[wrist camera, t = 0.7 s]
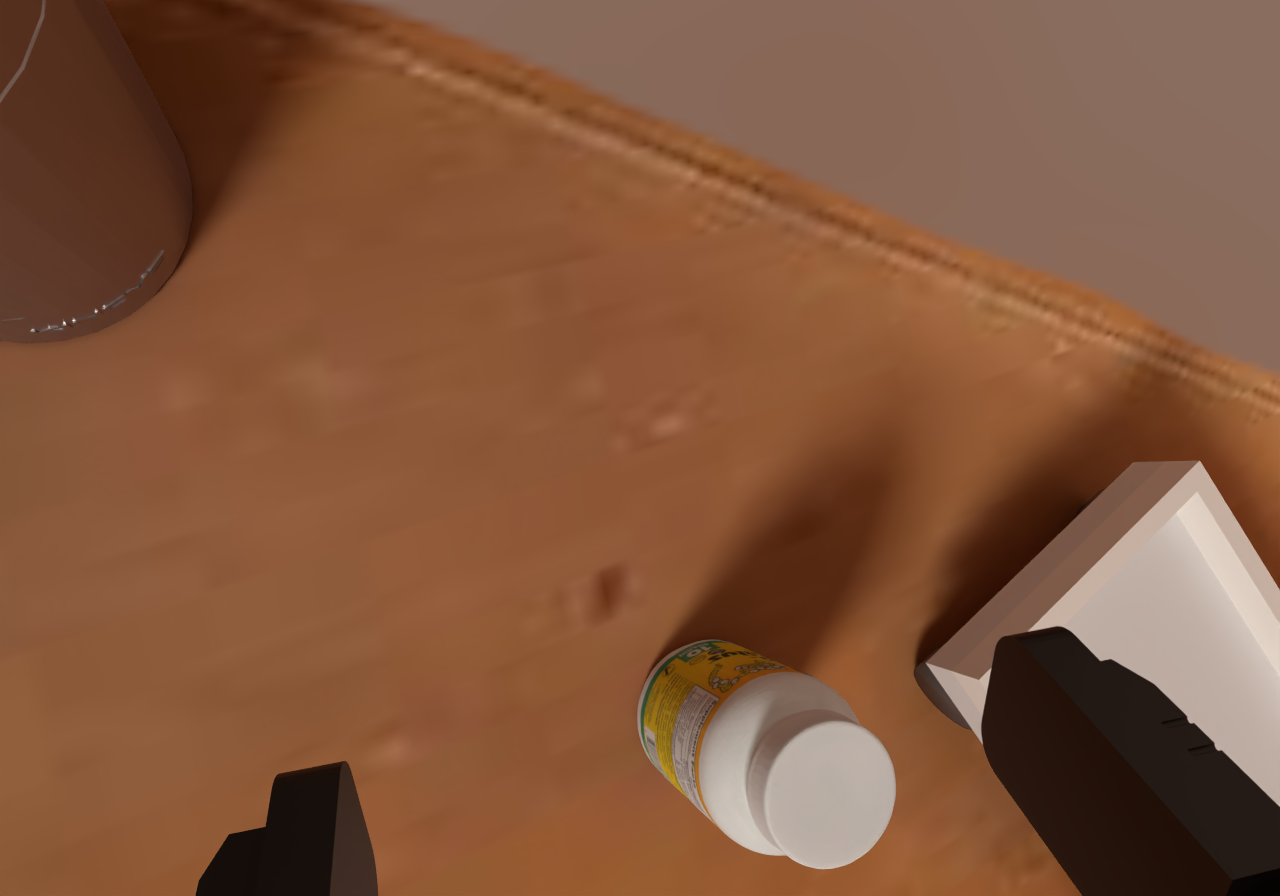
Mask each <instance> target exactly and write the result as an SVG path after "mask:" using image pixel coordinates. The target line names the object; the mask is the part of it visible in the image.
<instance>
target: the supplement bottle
mask: <svg viewBox="0 0 1280 896" xmlns="http://www.w3.org/2000/svg"><path fill="white" fill-rule="evenodd" d="M637 722H638V731H639V736H640V739H641V743H642V745H643V748H644V750H645V752H646V754H647V756H648V757H649V759H650V760H651V762H652V763H653V765H654V766H655V767H656V768H657V769H658V770H659V771H660V772H661V773H662V775H663V776H664V777H665V778H667V779H668V780H669V782H670V783H672V784H673V785H674V786H675V787H676V788H677V789H678V790H679V791H680V792H681V793H683V794H684V795H685V796H686V797H687V798H688V799H689V800H690V801H691V802H692V803H693V804H694V805H695V806H696V807H697V808H698V809H699V810H700V811H701V812H702V813H703V814H704V815H706V816H707V817H708V818H709V819H710V820H711V821H712V822H713V823H714V824H715V825H716V826H717V827H718V828H719V829H720V830H721V831H723V832H724V833H725V834H726V835H727V836H728V837H730V838H731V839H732V840H734V841H735V842H736V843H738V844H740V845H741V846H743V847H745V848H747V849H750V850H752V851H755V852H758V853H762V854H767V855H787V856H788V857H790V858H791V859H793V860H794V861H796V862H798V863H800V864H802V865H805V866H808V867H812V868H817V869H831V868H837V867H841V866H844V865H847V864H849V863H852V862H853V861H855V860H856V859H858V858H860V857H861V856H863V855H864V854H865V853H867V852H868V851H869V850H870V849H871V848H872V847H873V846H874V844H875V843H876V842H877V841H878V840H879V838H880V837H881V835H882V834H883V832H884V831H885V828H886V827H887V825H888V823H889V820H890V818H891V815H892V811H893V807H894V802H895V795H896V781H895V772H894V767H893V764H892V761H891V759H890V756H889V754H888V752H887V750H886V749H885V747H884V746H883V744H882V743H881V741H880V740H879V739H878V738H877V737H876V736H875V735H874V734H873V733H872V732H870V731H869V730H868V729H867V728H865V727H863V726H862V725H860V724H859V722H858V720H857V718H856V716H855V714H854V712H853V710H852V709H851V707H850V706H849V705H848V703H847V702H846V701H845V700H844V699H843V698H842V697H841V696H840V695H839V694H838V693H837V692H836V691H835V690H834V689H832V688H831V687H830V686H828V685H827V684H825V683H823V682H821V681H820V680H818V679H816V678H815V677H813V676H811V675H808V674H805V673H803V672H800V671H798V670H795V669H793V668H790V667H788V666H786V665H783V664H781V663H779V662H777V661H774V660H772V659H769V658H767V657H764V656H762V655H760V654H758V653H756V652H753V651H751V650H748V649H746V648H744V647H741V646H739V645H737V644H733V643H730V642H727V641H722V640H714V639H711V640H701V641H697V642H694V643H691V644H688V645H686V646H683V647H681V648H678V649H677V650H675V651H673V652H671V653H670V654H668V655H667V656H666V657H664V658H663V659H662V660H661V661H660V662H659V663H658V664H657V665H656V666H655V667H654V669H653V670H652V671H651V673H650V675H649V676H648V678H647V680H646V682H645V684H644V687H643V689H642V692H641V696H640V699H639V704H638V712H637Z"/></svg>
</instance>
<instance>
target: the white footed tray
mask: <svg viewBox="0 0 1280 896" xmlns="http://www.w3.org/2000/svg"><path fill="white" fill-rule="evenodd" d="M1055 626H1061V627H1064V628H1066V629H1068V630H1070V631H1071V632H1072V633H1073V634H1074V635H1076V636H1077V638H1078V639H1079V640H1080V641H1081V642H1082V643H1083V644H1084V645H1085V646H1086V647H1087V648H1088V649H1089V650H1090V651H1091V652H1092V653H1093V654H1094V655H1095V656H1096V657H1097V658H1098V659H1099V660H1100V661H1103V660H1108V659H1112V660H1114V661H1116V662H1117V663H1119V664H1121V665H1123V666H1124V667H1126V668H1128V669H1129V670H1131V671H1133V672H1135V673H1136V674H1138V675H1140V676H1142V677H1143V678H1145V679H1147V680H1148V681H1150V682H1152V683H1154V684H1155V685H1156V686H1157V687H1158V688H1159V689H1160V690H1161V691H1162V692H1163V693H1164V694H1165V695H1166V696H1167V697H1168V698H1169V699H1170V700H1171V701H1172V702H1173V703H1174V704H1175V705H1176V706H1177V707H1178V708H1179V709H1180V710H1181V711H1183V712H1184V713H1185V714H1186V715H1187V719H1188V721H1189V723H1190V724H1191V723H1195V724H1196V725H1197V726H1198V727H1199V728H1200V729H1201V730H1202V731H1203V732H1204V733H1205V734H1206V735H1207V736H1208V737H1209V738H1210V739H1211V740H1212V741H1213V742H1214V743H1215V748H1216V749H1217V750H1218V751H1220V750H1222V751H1223V752H1224V753H1225V754H1226V755H1227V756H1228V757H1229V758H1230V759H1232V760H1233V761H1234V762H1235V763H1236V764H1237V765H1238V766H1239V767H1240V768H1241V769H1242V770H1243V771H1244V772H1245V773H1246V774H1247V775H1248V776H1249V777H1250V778H1251V779H1252V780H1253V781H1254V782H1255V783H1256V784H1257V785H1258V786H1259V787H1260V788H1261V789H1262V790H1263V791H1264V792H1265V793H1266V794H1267V795H1268V796H1269V797H1270V798H1271V799H1272V800H1273V801H1274V802H1275V803H1276V804H1277V805H1278V806H1280V590H1279V588H1278V586H1277V585H1276V583H1275V582H1274V580H1273V578H1272V577H1271V575H1270V573H1269V572H1268V570H1267V569H1266V567H1265V565H1264V564H1263V562H1262V560H1261V559H1260V557H1259V556H1258V554H1257V552H1256V551H1255V549H1254V548H1253V546H1252V544H1251V543H1250V541H1249V539H1248V538H1247V536H1246V535H1245V533H1244V531H1243V530H1242V528H1241V526H1240V525H1239V523H1238V522H1237V520H1236V518H1235V517H1234V515H1233V514H1232V512H1231V510H1230V509H1229V507H1228V505H1227V504H1226V502H1225V501H1224V499H1223V497H1222V496H1221V494H1220V492H1219V491H1218V489H1217V488H1216V486H1215V484H1214V483H1213V481H1212V479H1211V478H1210V476H1209V475H1208V473H1207V471H1206V470H1205V468H1204V467H1203V465H1202V463H1201V462H1200V461H1160V462H1133V463H1132V464H1131V465H1130V466H1129V467H1128V468H1127V469H1126V470H1125V471H1124V472H1123V473H1122V474H1121V475H1119V476H1118V477H1117V478H1116V479H1115V480H1114V481H1113V482H1112V483H1111V484H1110V485H1109V486H1108V487H1107V488H1106V489H1103V490H1100V491H1099V492H1098V493H1097V494H1096V495H1095V496H1094V497H1093V498H1092V499H1091V500H1090V501H1089V502H1088V503H1087V504H1085V505H1084V506H1083V507H1082V508H1081V509H1080V510H1079V512H1078V514H1077V517H1076V518H1075V519H1074V520H1073V521H1072V522H1071V523H1070V524H1069V525H1068V526H1067V527H1066V528H1065V529H1064V530H1063V531H1061V532H1060V533H1059V534H1058V535H1057V536H1056V537H1055V538H1054V539H1053V540H1052V541H1051V542H1050V543H1049V544H1048V545H1047V546H1046V547H1045V548H1044V549H1043V550H1042V551H1041V552H1040V553H1039V554H1038V555H1037V556H1036V557H1035V558H1034V559H1032V560H1031V561H1030V562H1029V563H1028V564H1027V565H1026V566H1025V567H1024V568H1023V569H1022V570H1021V571H1020V572H1019V573H1018V574H1017V575H1016V576H1015V577H1014V578H1013V579H1012V580H1011V581H1010V582H1009V583H1008V584H1007V585H1006V586H1005V587H1003V588H1002V589H1001V590H1000V591H999V592H998V593H997V594H996V595H995V596H994V597H993V598H992V599H991V600H990V601H989V602H988V603H987V604H986V605H985V606H984V607H983V608H982V609H981V610H980V611H979V612H978V613H977V614H976V615H974V616H973V617H972V618H971V619H970V620H969V621H968V622H967V623H966V624H965V625H964V626H963V627H962V628H961V629H960V630H959V631H958V632H957V633H956V634H955V635H954V636H953V637H952V638H951V639H950V640H949V641H948V642H947V643H945V644H944V645H943V646H942V647H938V648H936V649H935V650H934V651H933V652H932V653H931V654H930V655H929V656H928V657H927V658H926V659H925V660H924V661H923V662H922V663H921V664H919V665H918V666H917V667H916V668H915V670H914V676H915V679H916V681H917V683H918V685H919V687H920V688H921V690H922V691H923V692H924V694H925V695H926V696H927V697H928V699H929V700H930V701H931V702H932V703H933V704H934V705H935V706H936V707H937V708H938V709H939V710H940V711H941V712H942V713H943V714H945V715H946V716H947V717H948V718H950V719H951V720H952V721H954V722H955V723H957V724H958V725H960V726H962V727H964V728H966V729H970V730H973V731H974V733H975V734H976V735H977V737H978V738H979V740H980V741H981V743H982V744H983V741H982V735H981V722H982V716H983V711H984V705H985V700H986V694H987V689H988V684H989V678H990V673H991V667H992V662H993V657H994V651H995V647H996V644H997V642H998V641H999V640H1000V638H1002V637H1003V636H1008V635H1014V634H1019V633H1024V632H1029V631H1034V630H1039V629H1045V628H1050V627H1055Z"/></svg>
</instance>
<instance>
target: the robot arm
mask: <svg viewBox="0 0 1280 896" xmlns="http://www.w3.org/2000/svg"><path fill="white" fill-rule="evenodd" d="M192 218H193V197H192V183H191V179H190V175H189V171H188V167H187V163H186V159H185V155H184V153H183V151H182V149H181V147H180V145H179V143H178V141H177V139H176V137H175V135H174V133H173V131H172V129H171V127H170V125H169V124H168V122H167V120H166V118H165V116H164V114H163V112H162V110H161V108H160V107H159V105H158V103H157V101H156V99H155V97H154V94H153V92H152V90H151V88H150V87H149V85H148V83H147V81H146V79H145V77H144V76H143V74H142V72H141V70H140V68H139V66H138V64H137V63H136V61H135V59H134V57H133V55H132V53H131V51H130V50H129V48H128V46H127V44H126V42H125V40H124V38H123V37H122V35H121V33H120V31H119V29H118V27H117V25H116V24H115V22H114V20H113V18H112V16H111V14H110V12H109V11H108V9H107V7H106V5H105V3H104V1H103V0H0V340H2V341H11V342H20V343H38V342H52V341H64V340H68V339H72V338H75V337H79V336H83V335H87V334H90V333H94V332H98V331H100V330H102V329H104V328H106V327H108V326H110V325H112V324H114V323H116V322H118V321H120V320H122V319H124V318H126V317H128V316H129V315H131V314H132V313H133V312H134V311H136V310H137V309H138V308H140V307H141V306H142V305H143V304H145V303H146V302H147V301H148V300H150V299H151V298H152V297H153V296H154V295H155V294H156V293H157V292H158V290H159V289H160V288H161V287H162V285H163V284H164V283H165V282H166V281H167V279H168V278H169V277H170V276H171V274H172V273H173V272H174V270H175V268H176V265H177V263H178V261H179V259H180V257H181V255H182V253H183V251H184V249H185V247H186V245H187V240H188V236H189V231H190V227H191V222H192ZM981 735H982V741H983V746H984V750H985V753H986V756H987V758H988V761H989V763H990V765H991V767H992V769H993V771H994V772H995V774H996V775H997V777H998V778H999V780H1000V781H1001V782H1002V784H1003V785H1004V787H1005V788H1006V789H1007V791H1008V792H1009V794H1010V795H1011V796H1012V798H1013V799H1014V801H1015V802H1016V803H1017V805H1018V806H1019V808H1020V809H1021V810H1022V812H1023V813H1024V815H1025V816H1026V817H1027V819H1028V820H1029V822H1030V823H1031V824H1032V826H1033V827H1034V829H1035V830H1036V831H1037V833H1038V834H1039V836H1040V837H1041V838H1042V840H1043V841H1044V843H1045V844H1046V845H1047V847H1048V848H1049V850H1050V851H1051V852H1052V854H1053V855H1054V857H1055V858H1056V859H1057V861H1058V862H1059V864H1060V865H1061V866H1062V868H1063V869H1064V871H1065V872H1066V873H1067V875H1068V876H1069V878H1070V879H1071V880H1072V882H1073V883H1074V885H1075V886H1076V887H1077V889H1078V890H1079V892H1080V893H1081V894H1082V896H1280V806H1278V805H1277V804H1276V803H1275V802H1274V801H1273V800H1272V799H1271V798H1270V797H1269V796H1268V795H1267V794H1266V793H1265V792H1264V791H1263V790H1262V789H1261V788H1260V787H1259V786H1258V785H1257V784H1256V783H1255V782H1254V781H1253V780H1252V779H1251V778H1250V777H1249V776H1248V775H1247V774H1246V773H1245V772H1244V771H1243V770H1242V769H1241V768H1240V767H1239V766H1238V765H1237V764H1236V763H1235V762H1234V761H1233V760H1232V759H1230V758H1229V757H1228V756H1227V755H1226V754H1225V753H1224V752H1223V751H1222V750H1220V751H1218V750H1217V749H1216V748H1215V743H1214V742H1213V741H1212V740H1211V739H1210V738H1209V737H1208V736H1207V735H1206V734H1205V733H1204V732H1203V731H1202V730H1201V729H1200V728H1199V727H1198V726H1197V725H1196V724H1195V723H1191V724H1190V723H1189V721H1188V719H1187V715H1186V714H1185V713H1184V712H1183V711H1181V710H1180V709H1179V708H1178V707H1177V706H1176V705H1175V704H1174V703H1173V702H1172V701H1171V700H1170V699H1169V698H1168V697H1167V696H1166V695H1165V694H1164V693H1163V692H1162V691H1161V690H1160V689H1159V688H1158V687H1157V686H1156V685H1155V684H1154V683H1152V682H1150V681H1148V680H1147V679H1145V678H1143V677H1142V676H1140V675H1138V674H1136V673H1135V672H1133V671H1131V670H1129V669H1128V668H1126V667H1124V666H1123V665H1121V664H1119V663H1117V662H1116V661H1114V660H1112V659H1108V660H1103V661H1100V660H1099V659H1098V658H1097V657H1096V656H1095V655H1094V654H1093V653H1092V652H1091V651H1090V650H1089V649H1088V648H1087V647H1086V646H1085V645H1084V644H1083V643H1082V642H1081V641H1080V640H1079V639H1078V638H1077V636H1076V635H1074V634H1073V633H1072V632H1071V631H1070V630H1068V629H1066V628H1064V627H1061V626H1055V627H1050V628H1045V629H1039V630H1034V631H1029V632H1024V633H1019V634H1014V635H1008V636H1003V637H1002V638H1000V640H999V641H998V642H997V644H996V647H995V651H994V657H993V662H992V667H991V673H990V678H989V684H988V689H987V694H986V700H985V705H984V711H983V716H982V722H981ZM196 896H378V886H377V874H376V866H375V859H374V854H373V849H372V845H371V841H370V838H369V834H368V831H367V827H366V823H365V820H364V816H363V812H362V809H361V805H360V801H359V798H358V794H357V791H356V787H355V783H354V780H353V776H352V773H351V769H350V767H349V765H348V763H347V762H346V761H343V762H338V763H332V764H327V765H322V766H317V767H312V768H306V769H301V770H296V771H291V772H286V773H280V774H278V775H277V776H276V777H275V779H274V782H273V786H272V791H271V797H270V803H269V809H268V815H267V822H266V827H263V828H258V829H253V830H248V831H243V832H238V833H233V834H229V835H228V837H227V838H226V840H225V841H224V843H223V844H222V846H221V848H220V849H219V851H218V852H217V854H216V855H215V857H214V858H213V860H212V861H211V863H210V865H209V866H208V868H207V869H206V871H205V872H204V874H203V875H202V877H201V878H200V880H199V883H198V887H197V892H196Z"/></svg>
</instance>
